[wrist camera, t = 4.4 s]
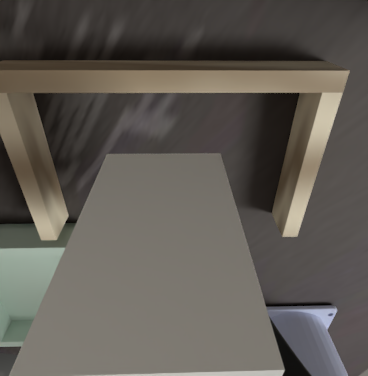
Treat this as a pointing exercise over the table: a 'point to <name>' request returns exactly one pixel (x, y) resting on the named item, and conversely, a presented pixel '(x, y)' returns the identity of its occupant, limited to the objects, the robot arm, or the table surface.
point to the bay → (166, 83)
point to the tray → (25, 276)
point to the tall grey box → (154, 280)
